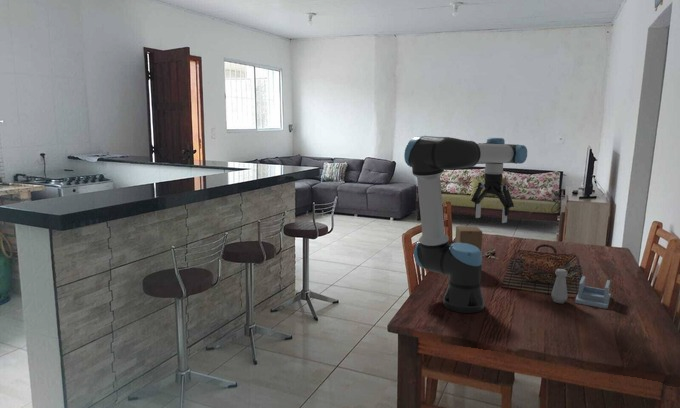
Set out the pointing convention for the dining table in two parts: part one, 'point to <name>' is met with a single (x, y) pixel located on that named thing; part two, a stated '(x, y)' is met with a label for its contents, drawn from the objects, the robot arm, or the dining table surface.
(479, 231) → the wooden block
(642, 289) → the dining table surface
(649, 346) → the dining table surface
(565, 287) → the salt shaker
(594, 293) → the blue bracket with posts
